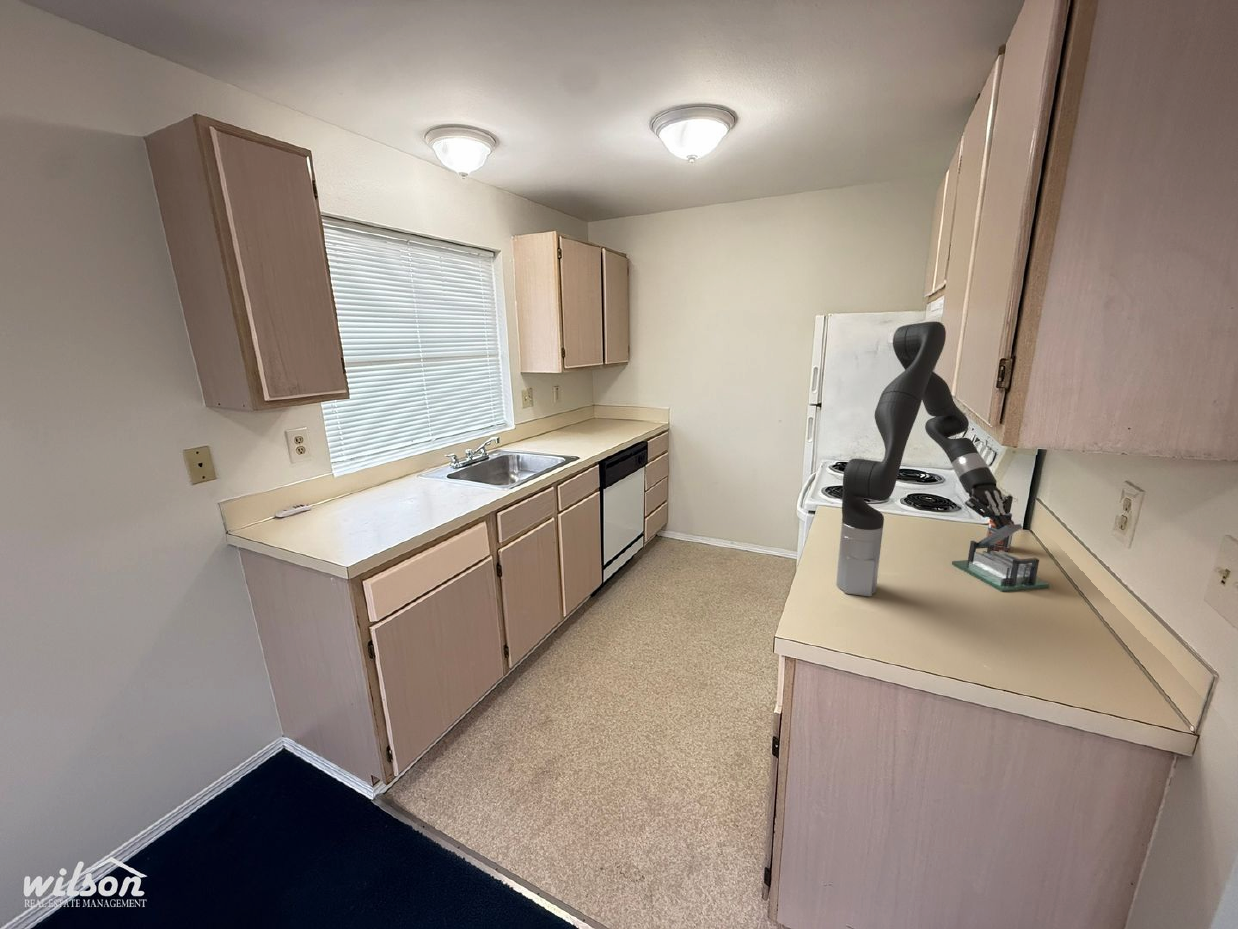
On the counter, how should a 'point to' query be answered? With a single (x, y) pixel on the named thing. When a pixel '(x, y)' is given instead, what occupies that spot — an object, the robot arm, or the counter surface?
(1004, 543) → the supplement bottle
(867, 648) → the counter surface
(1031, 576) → the heatsink
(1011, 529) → the retention strap
